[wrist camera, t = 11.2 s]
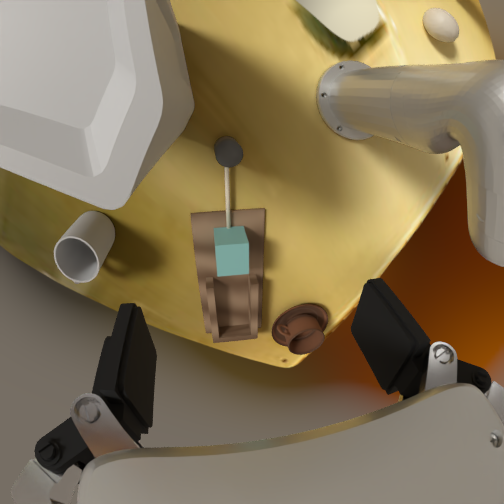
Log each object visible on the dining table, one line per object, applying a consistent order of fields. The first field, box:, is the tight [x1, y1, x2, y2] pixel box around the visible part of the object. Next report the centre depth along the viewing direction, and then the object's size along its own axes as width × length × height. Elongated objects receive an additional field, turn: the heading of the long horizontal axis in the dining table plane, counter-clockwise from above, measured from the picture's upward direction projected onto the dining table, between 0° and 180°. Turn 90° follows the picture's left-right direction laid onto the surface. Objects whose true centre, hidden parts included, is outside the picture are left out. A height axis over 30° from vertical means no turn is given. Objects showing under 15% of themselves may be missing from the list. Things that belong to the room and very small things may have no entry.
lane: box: [191, 208, 265, 343], centre depth 45 cm, size 25×11×3 cm, turn 0°
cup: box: [54, 211, 115, 284], centre depth 35 cm, size 7×10×9 cm
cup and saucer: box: [272, 304, 328, 355], centre depth 53 cm, size 12×12×6 cm
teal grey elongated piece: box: [214, 136, 249, 277], centre depth 37 cm, size 19×4×6 cm, turn 0°
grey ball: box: [423, 8, 459, 42], centre depth 24 cm, size 7×7×7 cm
